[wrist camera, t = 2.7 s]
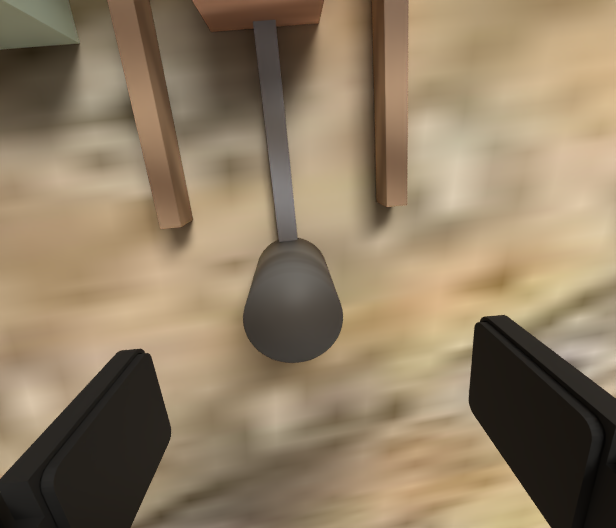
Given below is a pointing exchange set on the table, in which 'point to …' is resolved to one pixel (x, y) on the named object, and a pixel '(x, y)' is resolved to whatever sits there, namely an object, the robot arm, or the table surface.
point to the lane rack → (160, 127)
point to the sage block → (36, 23)
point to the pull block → (281, 202)
